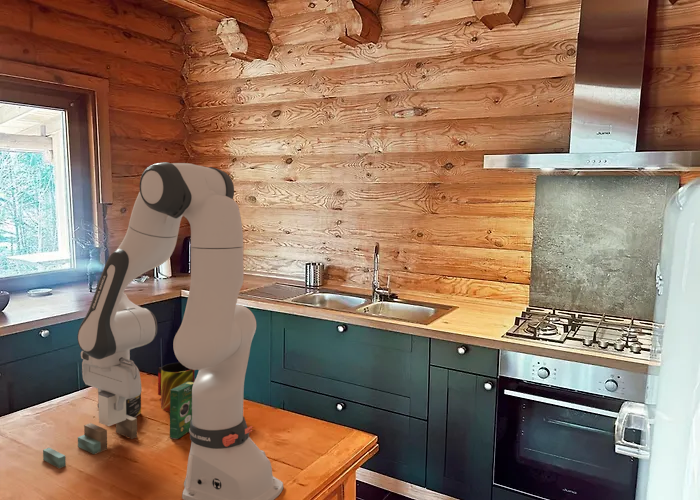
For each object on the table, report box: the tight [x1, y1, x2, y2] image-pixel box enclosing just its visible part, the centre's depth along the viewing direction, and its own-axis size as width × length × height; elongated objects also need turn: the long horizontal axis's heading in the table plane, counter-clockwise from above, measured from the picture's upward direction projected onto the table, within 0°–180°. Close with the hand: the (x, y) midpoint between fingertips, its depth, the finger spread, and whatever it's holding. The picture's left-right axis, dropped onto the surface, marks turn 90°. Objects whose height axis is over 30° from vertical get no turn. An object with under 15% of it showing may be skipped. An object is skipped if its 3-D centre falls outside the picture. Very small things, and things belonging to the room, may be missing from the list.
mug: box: [157, 362, 195, 413], centre depth 162 cm, size 10×14×12 cm
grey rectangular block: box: [97, 391, 126, 427], centre depth 137 cm, size 4×5×8 cm
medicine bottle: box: [126, 393, 142, 418], centre depth 152 cm, size 7×7×12 cm
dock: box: [42, 415, 138, 469], centre depth 133 cm, size 7×20×5 cm, turn 147°
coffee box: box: [169, 382, 194, 440], centre depth 143 cm, size 8×3×13 cm, turn 161°
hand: (112, 407), depth 137 cm, fingers closed on grey rectangular block, 4 cm apart
